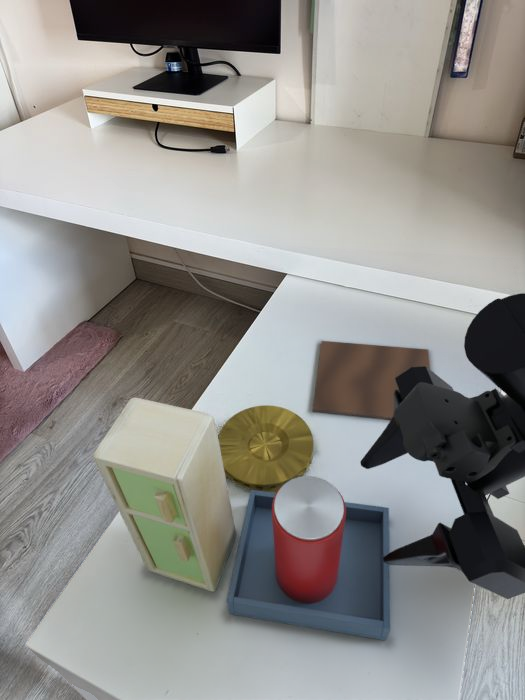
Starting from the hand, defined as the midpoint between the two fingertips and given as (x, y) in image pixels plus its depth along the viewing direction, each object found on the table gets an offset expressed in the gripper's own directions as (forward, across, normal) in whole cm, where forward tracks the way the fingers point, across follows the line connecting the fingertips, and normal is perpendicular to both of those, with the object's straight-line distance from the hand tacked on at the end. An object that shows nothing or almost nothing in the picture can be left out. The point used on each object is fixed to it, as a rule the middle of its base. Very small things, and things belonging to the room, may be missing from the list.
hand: (373, 510), depth 44 cm
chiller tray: (+12, -1, +5) cm, 13 cm away
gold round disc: (+15, -16, +2) cm, 22 cm away
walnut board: (+4, -27, +14) cm, 30 cm away
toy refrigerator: (+21, -3, -4) cm, 22 cm away
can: (+12, 0, +4) cm, 13 cm away
